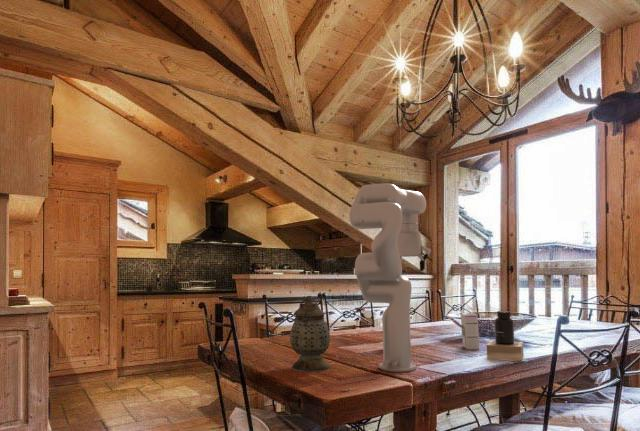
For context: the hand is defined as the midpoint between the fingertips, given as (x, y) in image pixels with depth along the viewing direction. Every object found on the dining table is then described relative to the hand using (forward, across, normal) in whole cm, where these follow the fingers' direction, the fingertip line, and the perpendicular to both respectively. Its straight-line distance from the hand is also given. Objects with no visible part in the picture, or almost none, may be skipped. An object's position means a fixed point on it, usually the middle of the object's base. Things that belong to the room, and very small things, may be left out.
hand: (410, 271), depth 191 cm
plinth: (+33, +33, +10) cm, 48 cm away
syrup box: (+33, +18, +24) cm, 45 cm away
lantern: (+33, -25, -38) cm, 57 cm away
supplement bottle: (+28, +33, +10) cm, 45 cm away
